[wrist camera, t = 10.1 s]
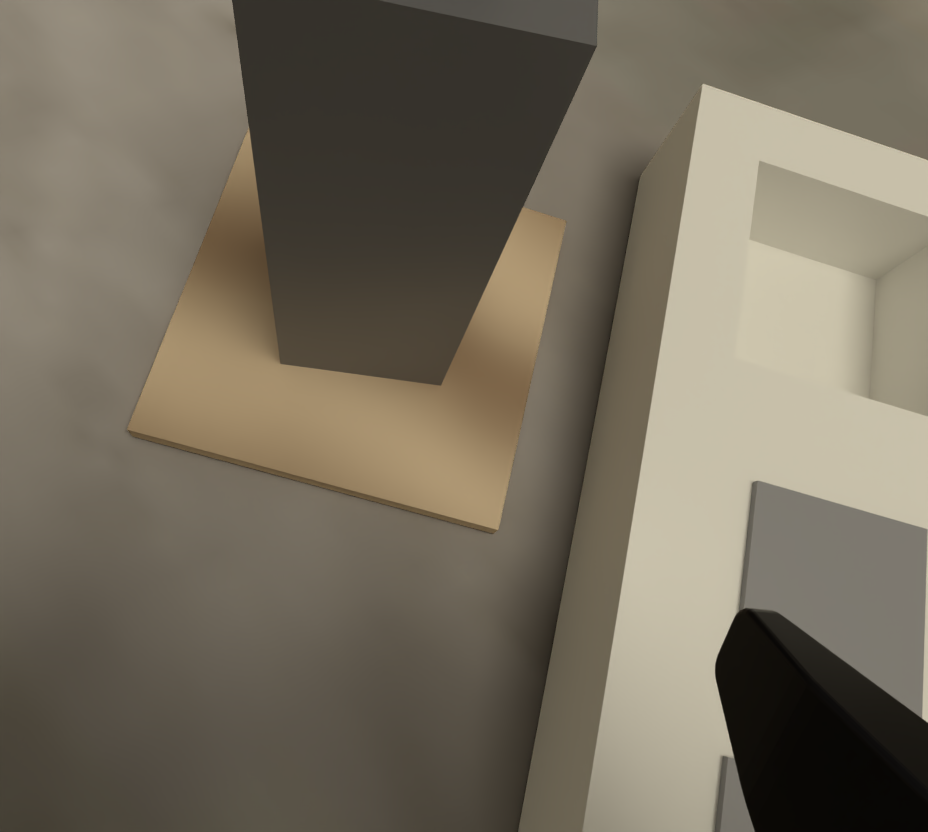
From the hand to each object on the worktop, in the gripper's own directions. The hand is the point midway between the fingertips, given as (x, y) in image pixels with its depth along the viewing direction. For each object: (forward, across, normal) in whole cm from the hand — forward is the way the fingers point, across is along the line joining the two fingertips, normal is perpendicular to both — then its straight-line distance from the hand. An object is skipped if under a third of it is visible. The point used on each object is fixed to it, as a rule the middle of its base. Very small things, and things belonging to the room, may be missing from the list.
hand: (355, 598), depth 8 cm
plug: (+12, 0, +1) cm, 12 cm away
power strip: (+9, -10, +5) cm, 14 cm away
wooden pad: (+12, 0, +1) cm, 12 cm away
